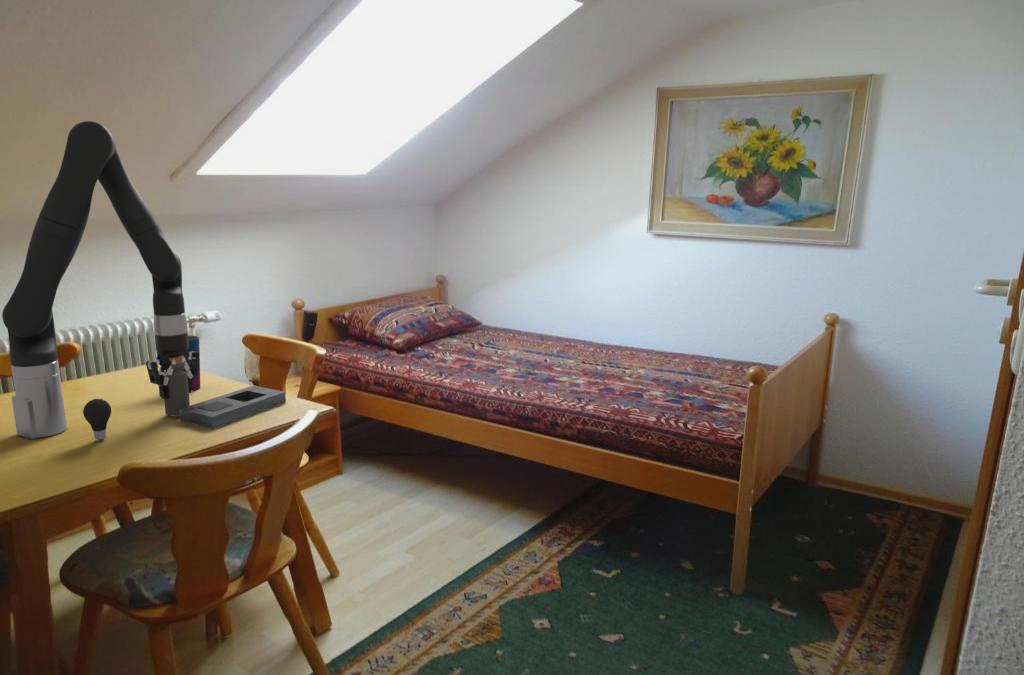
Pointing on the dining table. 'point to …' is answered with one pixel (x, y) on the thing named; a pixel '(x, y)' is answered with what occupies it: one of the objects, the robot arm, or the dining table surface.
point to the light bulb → (97, 416)
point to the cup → (195, 347)
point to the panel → (231, 406)
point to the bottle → (177, 388)
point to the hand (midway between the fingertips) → (176, 395)
